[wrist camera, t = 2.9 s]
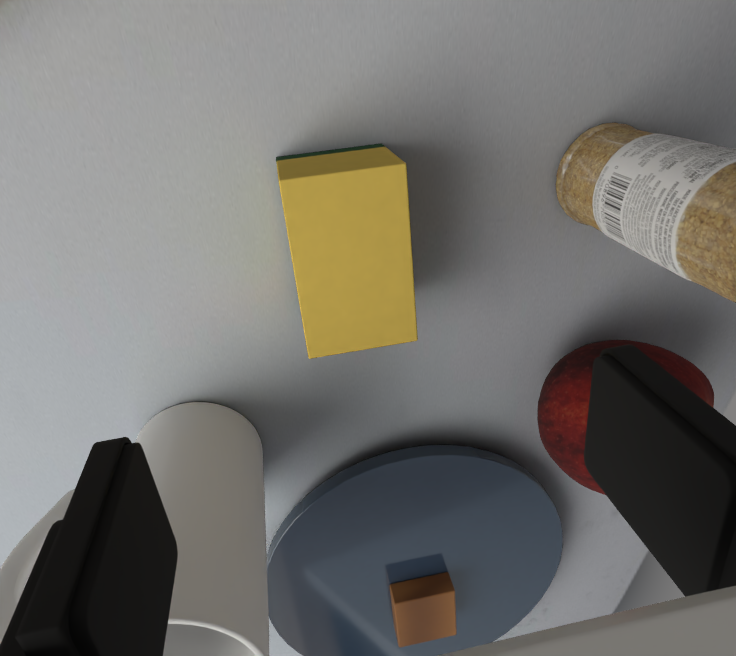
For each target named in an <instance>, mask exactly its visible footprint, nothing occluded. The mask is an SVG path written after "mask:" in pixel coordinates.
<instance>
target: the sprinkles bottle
mask: <svg viewBox="0 0 736 656" xmlns="http://www.w3.org/2000/svg"><path fill="white" fill-rule="evenodd" d="M556 191H557V197H558V200H559V203H560V205H561V206H562V208H563V209H564V211H565V212H566V214H567V215H568V216H570V217H571V218H572V219H574V220H575V221H577V222H579V223H582V224H585V225H591V226H593V227H594V228H596V229H598V230H600V231H602V232H603V233H604V234H605V235H606V236H608V237H610V238H611V239H613V240H615V241H617V242H619V243H620V244H622V245H624V246H626V247H628V248H630V249H631V250H633V251H635V252H637V253H638V254H640V255H642V256H644V257H646V258H647V259H649V260H651V261H653V262H655V263H657V264H659V265H660V266H662V267H664V268H666V269H668V270H670V271H671V272H673V273H675V274H677V275H679V276H681V277H683V278H685V279H687V280H690V281H693V282H695V283H698V284H700V285H702V286H704V287H706V288H707V289H710V290H711V291H713V292H716V293H718V294H719V295H721V296H722V297H725V298H727V299H729V300H731V301H733V302H735V303H736V149H732V148H727V147H722V146H718V145H713V144H709V143H704V142H700V141H695V140H690V139H686V138H681V137H677V136H672V135H667V134H653V133H650V132H646V131H641V130H636V129H635V128H633V127H632V126H629V125H627V124H618V123H606V124H601V125H598V126H596V127H593V128H591V129H588V130H587V131H586V132H584V133H583V134H582V135H580V136H579V137H578V138H577V139H576V140H575V141H574V142H573V143H572V144H571V145H570V147H569V148H568V150H567V151H566V153H565V154H564V156H563V158H562V159H561V162H560V165H559V168H558V172H557V181H556Z"/></svg>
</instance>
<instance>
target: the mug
mask: <svg viewBox="0 0 736 656" xmlns="http://www.w3.org/2000/svg"><path fill="white" fill-rule="evenodd" d="M137 442H138V443H140V444H141V446H142V448H143V451H144V453H145V456H146V459H147V462H148V464H149V467H150V470H151V473H152V475H153V478H154V481H155V484H156V487H157V489H158V492H159V495H160V498H161V500H162V503H163V506H164V509H165V511H166V514H167V517H168V520H169V522H170V525H171V528H172V531H173V534H174V536H175V539H176V543H177V550H178V559H177V566H176V573H175V579H174V586H173V593H172V599H171V606H170V612H169V619H168V625H167V632H166V639H165V645H164V652H163V656H269V613H268V585H267V558H266V530H265V497H264V472H263V449H262V443H261V440H260V437H259V435H258V433H257V431H256V429H255V428H254V426H253V425H252V424H251V423H250V422H249V421H248V420H247V419H246V418H245V417H244V416H242V415H241V414H239V413H238V412H236V411H234V410H232V409H230V408H228V407H225V406H222V405H218V404H214V403H207V402H191V403H184V404H179V405H176V406H173V407H170V408H167V409H165V410H163V411H161V412H160V413H158V414H157V415H155V416H154V417H153V418H151V419H150V420H149V421H148V422H147V423H146V424H145V426H144V427H143V428H142V430H141V431H140V433H139V435H138V437H137V439H136V442H135V443H137ZM74 491H75V490H71V491H69V492H68V493H67V494H65V495H64V496H63V497H62V498H61V499H60V500H59V501H58V502H57V503H56V504H55V506H54V507H53V508H52V509H51V510H50V511H49V512H48V513H47V514H46V515H45V516H44V517H43V518H42V519H41V520H40V521H39V522H38V523H37V524H36V525H35V526H34V527H33V528H32V529H31V530H30V531H29V532H28V533H27V534H26V535H25V536H24V537H23V538H22V540H21V541H20V542H19V543H18V544H17V545H16V547H15V548H14V549H13V551H12V552H11V553H10V555H9V556H8V557H7V559H6V560H5V562H4V563H3V565H2V566H1V568H0V644H1V642H2V639H3V637H4V635H5V632H6V630H7V628H8V625H9V623H10V621H11V618H12V616H13V614H14V611H15V609H16V606H17V604H18V602H19V599H20V597H21V595H22V592H23V590H24V586H25V584H26V582H27V580H28V578H29V576H30V574H31V571H32V569H33V567H34V564H35V562H36V560H37V557H38V555H39V553H40V550H41V548H42V546H43V543H44V541H45V539H46V536H47V534H48V532H49V530H50V528H51V526H52V525H53V524H54V523H55V522H56V521H58V520H62V519H63V518H64V515H65V513H66V510H67V508H68V505H69V503H70V500H71V498H72V496H73V493H74Z"/></svg>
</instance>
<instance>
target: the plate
mask: <svg viewBox="0 0 736 656" xmlns="http://www.w3.org/2000/svg"><path fill="white" fill-rule="evenodd" d="M562 548H563V531H562V526H561V520H560V517H559V514H558V512H557V509H556V507H555V505H554V503H553V502H552V500H551V499H550V497H549V496H548V494H547V492H546V491H545V489H544V488H543V486H542V485H541V484H540V482H539V481H538V480H537V479H536V478H535V477H534V476H533V475H532V474H531V473H530V472H528V471H527V470H526V469H524V468H523V467H522V466H520V465H519V464H517V463H515V462H513V461H511V460H510V459H508V458H506V457H504V456H501V455H498V454H495V453H493V452H490V451H487V450H482V449H478V448H473V447H468V446H457V445H426V446H418V447H411V448H404V449H400V450H396V451H392V452H388V453H384V454H381V455H378V456H375V457H372V458H370V459H367V460H364V461H362V462H359V463H357V464H355V465H353V466H351V467H349V468H347V469H345V470H343V471H341V472H339V473H338V474H336V475H334V476H333V477H331V478H329V479H328V480H326V481H325V482H323V483H322V484H321V485H319V486H318V487H317V488H316V489H314V490H313V491H312V492H310V493H309V494H308V495H307V496H306V497H305V498H304V499H303V500H302V501H301V502H300V503H299V504H298V505H297V506H296V507H295V508H294V509H293V510H292V511H291V512H290V514H289V515H288V516H287V518H286V519H285V520H284V521H283V523H282V524H281V526H280V528H279V529H278V531H277V533H276V535H275V536H274V538H273V540H272V543H271V545H270V548H269V550H268V553H267V557H266V558H267V585H268V613H269V618H270V620H271V623H272V624H273V626H274V627H275V629H276V631H277V632H278V634H279V635H280V636H281V637H282V638H283V639H284V640H285V642H286V643H287V644H288V645H289V646H291V647H292V648H293V649H295V650H296V651H297V652H298V653H300V654H301V655H303V656H438V655H442V654H447V653H451V652H455V651H459V650H463V649H467V648H471V647H476V646H480V645H484V644H488V643H492V642H493V641H495V640H496V639H498V638H499V637H501V636H502V635H504V634H505V633H507V632H508V631H509V630H510V629H512V628H513V627H514V626H515V625H517V624H518V623H519V622H520V621H521V620H522V619H523V618H524V617H525V616H526V615H527V614H528V613H529V612H530V611H531V610H532V609H533V608H534V607H535V605H536V604H537V603H538V602H539V601H540V600H541V598H542V597H543V595H544V594H545V592H546V591H547V589H548V588H549V586H550V584H551V582H552V580H553V578H554V576H555V574H556V571H557V568H558V565H559V562H560V559H561V553H562ZM445 572H448V573H449V575H450V578H451V581H452V584H453V586H454V589H455V603H456V629H457V634H456V635H453V636H449V637H444V638H440V639H436V640H431V641H427V642H422V643H418V644H413V645H409V646H405V647H399V646H398V642H397V637H396V633H395V628H394V621H393V612H392V604H391V595H390V587H389V586H390V584H393V583H398V582H402V581H407V580H412V579H416V578H421V577H426V576H431V575H435V574H440V573H445Z"/></svg>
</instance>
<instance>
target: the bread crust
mask: <svg viewBox="0 0 736 656" xmlns="http://www.w3.org/2000/svg"><path fill="white" fill-rule="evenodd" d="M389 587H390V595H391V604H392V612H393V621H394V628H395V633H396V637H397V642H398V646H399V647H405V646H409V645H413V644H418V643H422V642H427V641H431V640H436V639H440V638H444V637H449V636H453V635H456V634H457V629H456V603H455V589H454V586H453V584H452V581H451V578H450V575H449V573H448V572H445V573H440V574H435V575H431V576H426V577H421V578H416V579H412V580H407V581H402V582H398V583H393V584H390V586H389Z"/></svg>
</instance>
